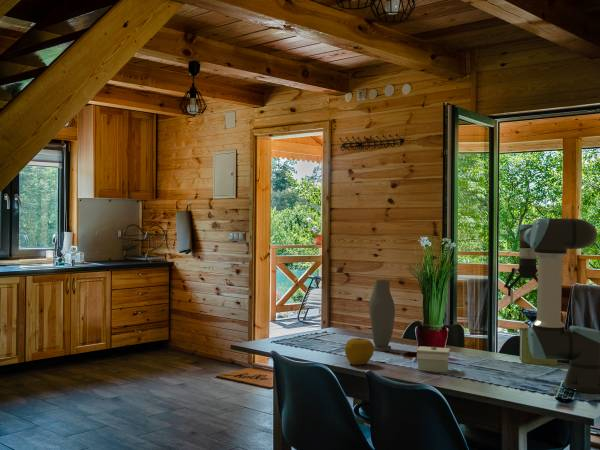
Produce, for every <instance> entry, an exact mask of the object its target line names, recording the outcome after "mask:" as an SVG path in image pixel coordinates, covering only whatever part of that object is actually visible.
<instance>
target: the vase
mask: <svg viewBox="0 0 600 450" xmlns="http://www.w3.org/2000/svg"><path fill="white" fill-rule="evenodd" d="M390 283H391V282H390V280H389V279H375V281H374V286H373V289H372V292H371V296H370V298H369V304H368V306H369V308H368V310H369V317H370V327H371V332H372V333H371V335H372V341H373V346H374V351H376V350H377V352H389V350H390V351H392V346H391V345H390V341H391V339H392V336H393V332H394V327H395V326H394V325H395V318H396V317H395V315H396V310H395V309H396V308H395V307H396V306H395V301H394V298H393V297H392V294H391V287H390Z"/></svg>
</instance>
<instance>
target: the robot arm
mask: <svg viewBox="0 0 600 450" xmlns="http://www.w3.org/2000/svg"><path fill="white" fill-rule="evenodd" d="M518 231H519V246H518V247H519V249H518V253H519V255H518V257H519V259H518V268H515V267H512V268H511V271H510V272H511V273H510V274H509V276H508V278H507V280H506V281H505V284H504V286H503V287H504V288H505V289H507V296H508V297H510V302H509V303H510V304H513V303H514V289H513V288H514V287H515V285H516V284H517V283H518V282H519V281H520V280H521V279H522V278H523V279H533V280H535V282H536V283H537V291H536V292H537V293H536V295H537V297H536V298H537V299H536V300H537V301H536V303H537V304H536V308H537V309H536V319H535V320H534V321H533V322H532V327H529V329H528V343H529V348H530V352H531V354H532V356H533V357H534V358H538V359H544V360H546V359H552V360H557V361H569V362H568V365H569V366H568V369H567V372H566V375H565V378H564V380H563V387H564V386H565V387H568V388H572V389H576V390H577V391H576V392H579V393H584V394H585V393H586V394H600V330H597V329H594V328H589V327H584V326H579V325H578V326H577V325H570V326H569V328H568V329H566V325H565V324H564V323H563V322H562V319H561V317H562V288H563V287H562V285H563V283H562V282H563V279H562V278H563V259H564V257H566V255H567V254H568V253H567V252H568V250H579V249H584V248H588V247H591V246H593V244H594V243H595V242H596V241H597V238H598V231H597V228H596V227H595V226H594V225H593V224H592V223H591V222H589V221H587V220H584V219H581V218H558V217H554V218H553V217H544V218H543V217H541V218H537V219H535V220H534V221H533V224H532V223H524V224H523V223H521V224H520V225H519V230H518ZM536 258H538V259H536ZM537 261H538V262H537ZM537 264H538V265H537ZM517 272H518V273H519V275H518V276H517V277H516V278H515V280H513V281H512V283H511V280H512V279H513V277H514V275H515V274H516V273H517ZM565 387H564V388H565Z"/></svg>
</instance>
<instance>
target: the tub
mask: <svg viewBox="0 0 600 450" xmlns="http://www.w3.org/2000/svg"><path fill="white" fill-rule="evenodd" d="M417 365H418V366H417V371H424V372H437V373H448V370H449V360H448V361H446V360H432V359H419V358H417Z"/></svg>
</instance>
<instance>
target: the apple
mask: <svg viewBox="0 0 600 450" xmlns="http://www.w3.org/2000/svg"><path fill="white" fill-rule="evenodd" d="M374 351H375V350H374V343H372V341H371V340H370V339H368V338H361V337H356V338H355V337H354V338H351V339H350V338H349V339H348V340H347V342H346V343H345V346H344V353H345V356H346V359H347V360H348V363H349V364H350V365H354V366H358V365H359V366H360V365H361V366H362V365H366V364H368V363H369V361H370V360H371V359H372V357H373V355H374V353H375V352H374Z"/></svg>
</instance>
